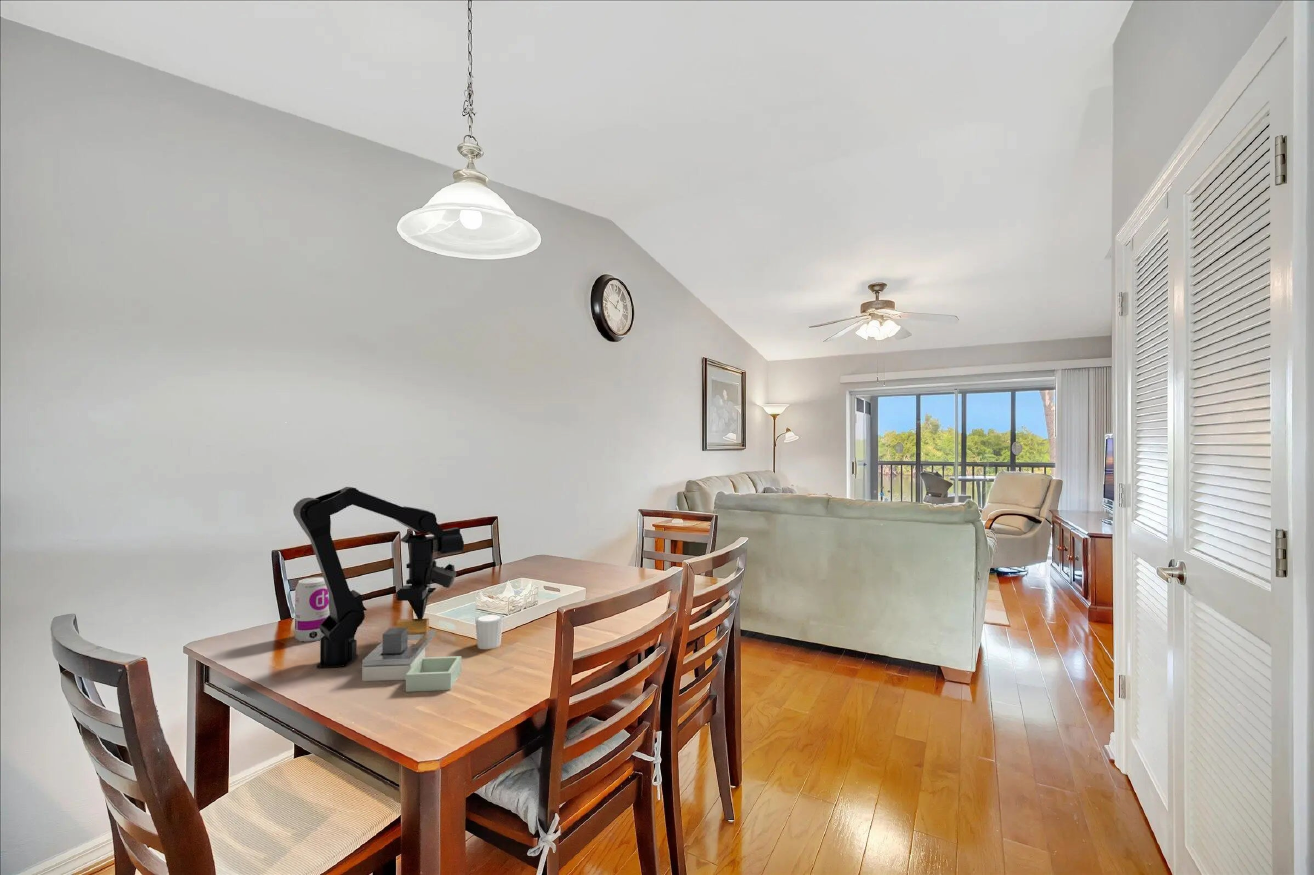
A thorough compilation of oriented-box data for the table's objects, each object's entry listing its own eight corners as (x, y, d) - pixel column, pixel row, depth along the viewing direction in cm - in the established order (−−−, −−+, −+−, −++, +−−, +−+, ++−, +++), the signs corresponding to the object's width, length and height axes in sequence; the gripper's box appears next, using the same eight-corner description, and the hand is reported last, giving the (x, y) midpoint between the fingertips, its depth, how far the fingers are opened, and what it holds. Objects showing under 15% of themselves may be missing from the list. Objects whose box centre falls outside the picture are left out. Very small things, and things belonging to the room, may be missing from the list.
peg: (377, 676, 121) (378, 635, 121) (387, 666, 126) (387, 627, 126) (403, 675, 122) (403, 634, 122) (411, 665, 127) (411, 626, 127)
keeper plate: (393, 636, 136) (393, 619, 136) (435, 634, 138) (435, 618, 138) (362, 665, 119) (362, 646, 119) (410, 664, 120) (410, 644, 120)
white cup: (494, 651, 136) (495, 622, 136) (469, 648, 137) (469, 620, 137) (507, 641, 143) (508, 614, 143) (483, 639, 144) (483, 612, 144)
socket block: (380, 662, 128) (380, 649, 128) (424, 660, 130) (425, 648, 130) (362, 681, 119) (362, 667, 119) (410, 679, 120) (410, 665, 120)
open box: (405, 691, 114) (405, 674, 114) (419, 673, 123) (419, 657, 123) (450, 689, 115) (450, 673, 115) (461, 671, 124) (461, 656, 124)
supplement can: (337, 635, 146) (338, 578, 146) (304, 644, 139) (304, 585, 139) (322, 629, 150) (322, 574, 151) (288, 638, 144) (289, 581, 144)
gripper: (443, 565, 134) (442, 630, 133) (462, 550, 152) (461, 607, 152) (395, 566, 132) (394, 631, 132) (420, 551, 151) (419, 608, 151)
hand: (420, 618), depth 142 cm, fingers closed
